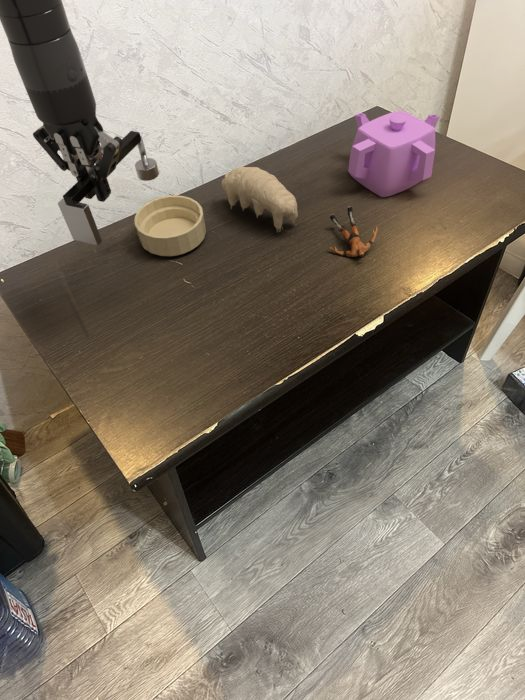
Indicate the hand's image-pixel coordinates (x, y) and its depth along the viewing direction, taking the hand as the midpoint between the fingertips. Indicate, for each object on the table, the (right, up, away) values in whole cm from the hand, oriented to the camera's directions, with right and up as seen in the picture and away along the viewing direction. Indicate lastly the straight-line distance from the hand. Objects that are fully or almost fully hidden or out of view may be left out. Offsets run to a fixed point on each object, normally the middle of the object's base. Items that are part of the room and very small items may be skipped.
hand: (98, 196), depth 74 cm
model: (+24, +4, +25) cm, 35 cm away
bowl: (+7, -1, +22) cm, 23 cm away
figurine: (+40, -3, +19) cm, 44 cm away
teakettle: (+51, +14, +32) cm, 62 cm away
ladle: (+2, +1, +6) cm, 6 cm away
